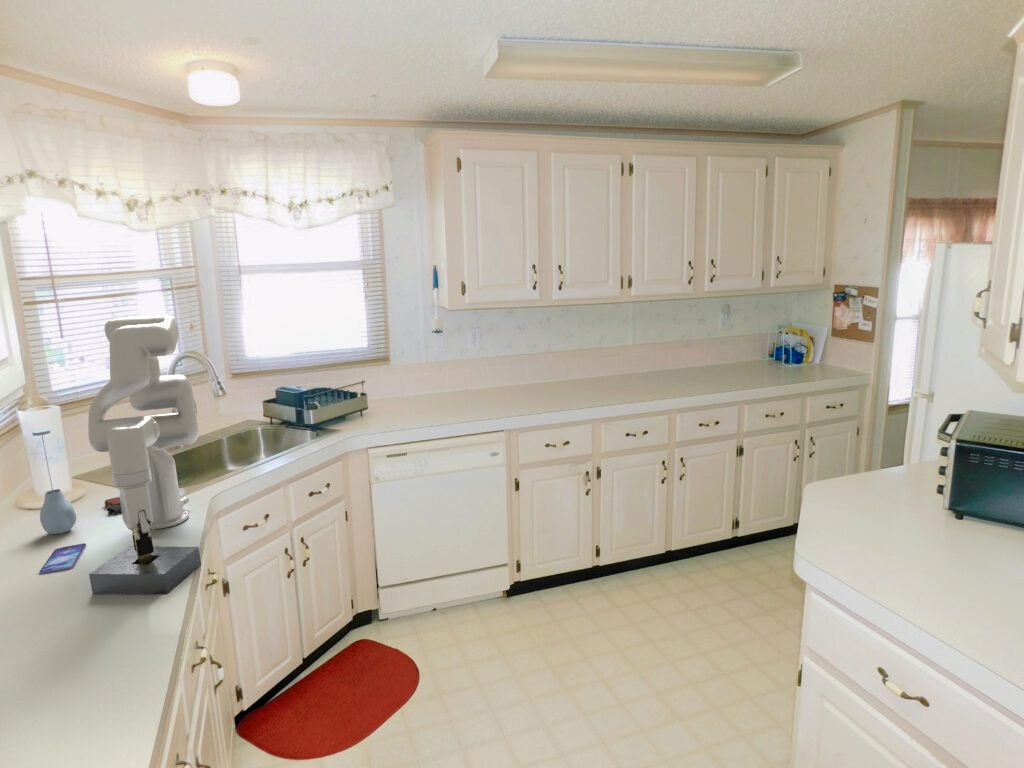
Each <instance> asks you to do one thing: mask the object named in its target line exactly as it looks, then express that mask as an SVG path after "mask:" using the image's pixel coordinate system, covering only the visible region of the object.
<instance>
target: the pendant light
mask: <svg viewBox="0 0 1024 768" xmlns="http://www.w3.org/2000/svg"><path fill="white" fill-rule="evenodd" d="M51 433H52V431H51V429H50V428H43V429H42V428H41V429H37V430H33V431H32V432H31V434H32V436H33V437H34V436H35V437H38V436H41V439H42V444H43V449H44V454H45V455H44V456H45V459H46V464H47V470H48V476H49V480H50V481H49V482H50V486H51V489H50V490H48V491H46V492H45V493H44V502H43V503H42V506H41V510H40V512H39V520H40V524H41V527H42V528H43V530H44V531H45V532H46V533H47V534H49V535H50V534H51V535H61V534H64V533H67V532H69V531H70V530H71V529H72V528H73V527H74V526H75V524H76V522H77V513H76V510H75V508H74V506H73V504H72V503H71V501H69V499H67V498H66V497H65V494H64V492H63V491H62V489H60V488H57V489H53V484H52V479H51V478H52V477H51V474H50V473H51V472H50V468H49V463H48V459H47V458H48V457H47V452H46V446H45V442H44V441H45V440H44V436H45V435H48V434H51Z"/></svg>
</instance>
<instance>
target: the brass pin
mask: <svg viewBox="0 0 1024 768" xmlns="http://www.w3.org/2000/svg"><path fill="white" fill-rule="evenodd" d="M139 526H140V525H139ZM139 531H141V529H140V530H139ZM133 532H134V538H135V544H136V540H137V537H136V531H135V529H133ZM133 532H132V533H133ZM136 550H137V546H136ZM137 557H138V563H139V564H150V563H151V562H153V556H152V553H150V554H146V555H143V556H138V552H137Z"/></svg>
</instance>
